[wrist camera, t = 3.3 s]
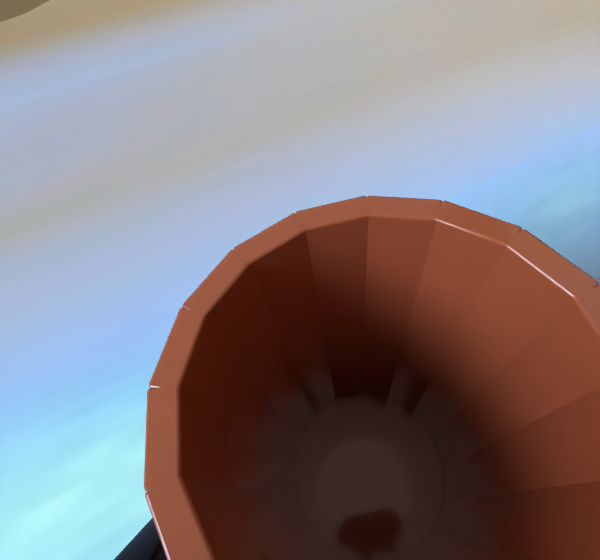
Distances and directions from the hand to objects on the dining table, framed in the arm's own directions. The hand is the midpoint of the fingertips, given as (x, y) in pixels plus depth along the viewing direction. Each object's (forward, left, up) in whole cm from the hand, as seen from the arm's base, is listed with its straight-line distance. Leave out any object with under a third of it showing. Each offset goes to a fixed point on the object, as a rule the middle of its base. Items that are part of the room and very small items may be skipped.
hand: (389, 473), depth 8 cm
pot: (0, +1, -8) cm, 8 cm away
